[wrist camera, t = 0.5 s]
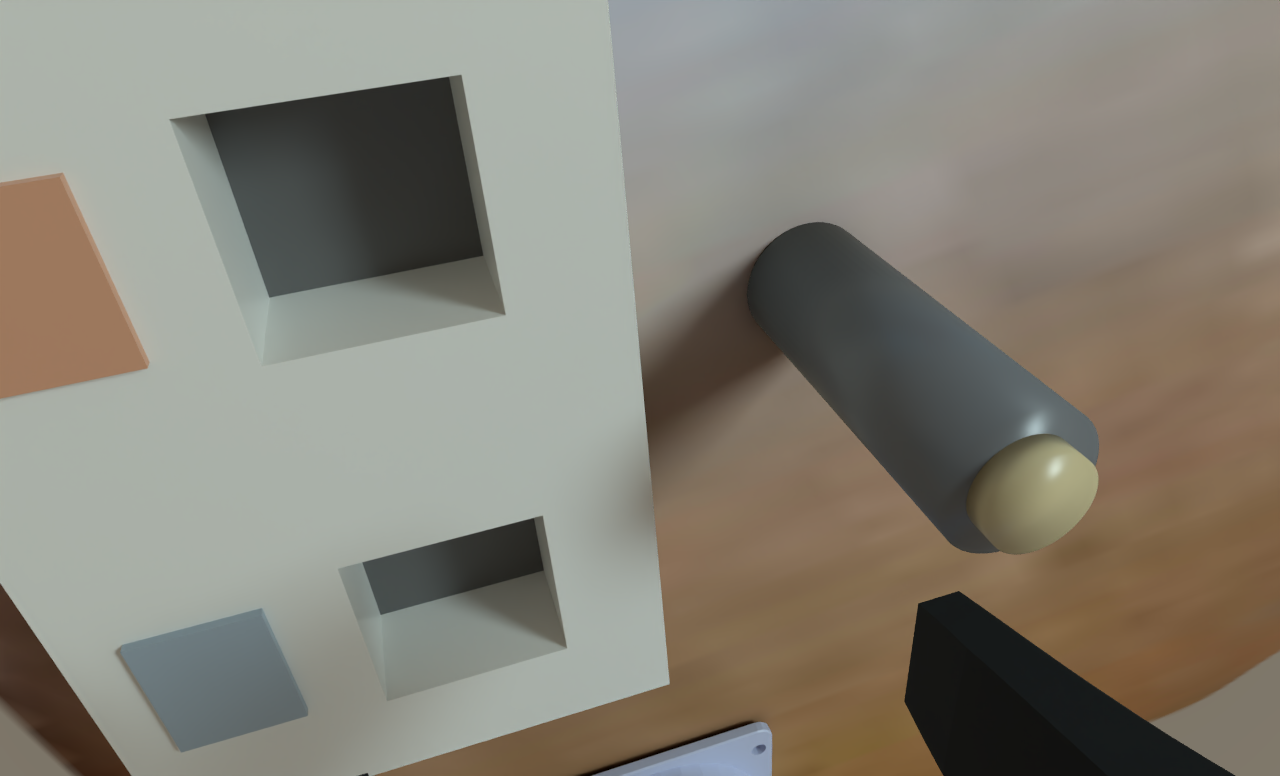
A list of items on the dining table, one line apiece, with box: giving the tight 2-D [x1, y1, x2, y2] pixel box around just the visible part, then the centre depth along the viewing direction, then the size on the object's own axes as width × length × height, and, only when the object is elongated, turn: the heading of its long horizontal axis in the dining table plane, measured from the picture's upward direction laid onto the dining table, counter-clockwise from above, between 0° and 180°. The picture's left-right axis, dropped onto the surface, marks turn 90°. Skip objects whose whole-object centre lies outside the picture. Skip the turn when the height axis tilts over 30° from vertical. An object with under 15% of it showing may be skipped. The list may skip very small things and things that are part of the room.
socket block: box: [0, 0, 669, 776], centre depth 18 cm, size 18×12×3 cm, turn 5°
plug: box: [747, 222, 1099, 554], centre depth 18 cm, size 3×3×9 cm
